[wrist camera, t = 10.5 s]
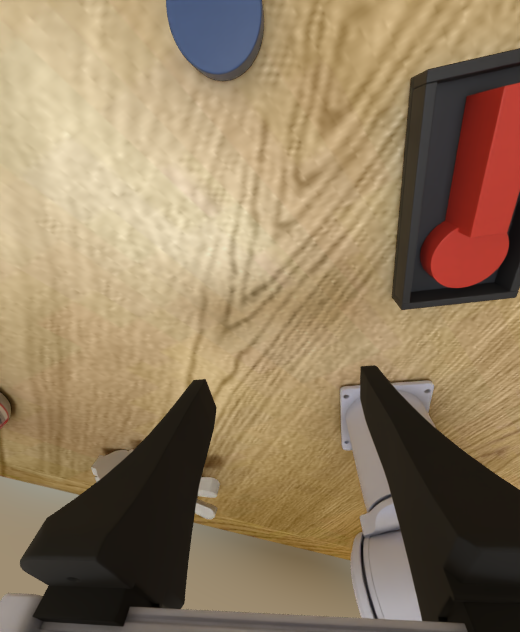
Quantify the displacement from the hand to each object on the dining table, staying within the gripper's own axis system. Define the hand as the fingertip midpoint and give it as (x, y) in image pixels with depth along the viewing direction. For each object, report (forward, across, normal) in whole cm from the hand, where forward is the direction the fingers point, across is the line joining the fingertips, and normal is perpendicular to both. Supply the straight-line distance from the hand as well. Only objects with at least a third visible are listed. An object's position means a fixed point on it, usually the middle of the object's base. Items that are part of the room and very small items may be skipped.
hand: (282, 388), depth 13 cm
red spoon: (+9, -12, -5) cm, 15 cm away
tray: (+9, -12, -5) cm, 16 cm away
